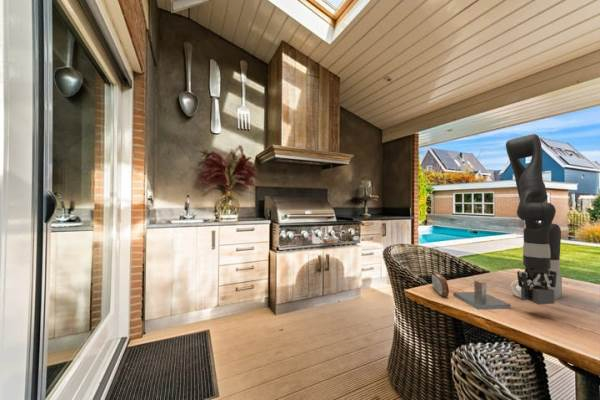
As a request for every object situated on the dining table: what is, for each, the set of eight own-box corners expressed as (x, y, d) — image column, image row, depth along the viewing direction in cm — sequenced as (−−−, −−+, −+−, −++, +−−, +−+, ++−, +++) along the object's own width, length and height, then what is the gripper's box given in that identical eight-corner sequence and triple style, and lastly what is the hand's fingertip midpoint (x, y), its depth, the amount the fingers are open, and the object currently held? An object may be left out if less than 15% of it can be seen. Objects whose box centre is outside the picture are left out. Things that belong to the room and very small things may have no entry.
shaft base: (482, 295, 112) (482, 276, 112) (510, 308, 98) (510, 286, 98) (453, 295, 111) (453, 276, 111) (477, 309, 97) (477, 287, 98)
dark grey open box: (521, 297, 95) (520, 284, 95) (536, 296, 96) (535, 283, 96) (538, 304, 89) (538, 289, 89) (554, 303, 90) (554, 289, 90)
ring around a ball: (535, 300, 107) (535, 281, 107) (531, 303, 103) (531, 284, 103) (511, 294, 113) (511, 277, 113) (507, 297, 110) (507, 279, 110)
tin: (449, 299, 107) (449, 280, 108) (441, 298, 108) (441, 279, 108) (437, 287, 122) (437, 270, 122) (430, 287, 123) (430, 270, 123)
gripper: (543, 252, 97) (543, 294, 97) (509, 253, 96) (510, 295, 96) (565, 256, 89) (565, 301, 89) (529, 257, 88) (529, 303, 88)
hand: (537, 298), depth 92 cm, fingers closed on dark grey open box, 6 cm apart
